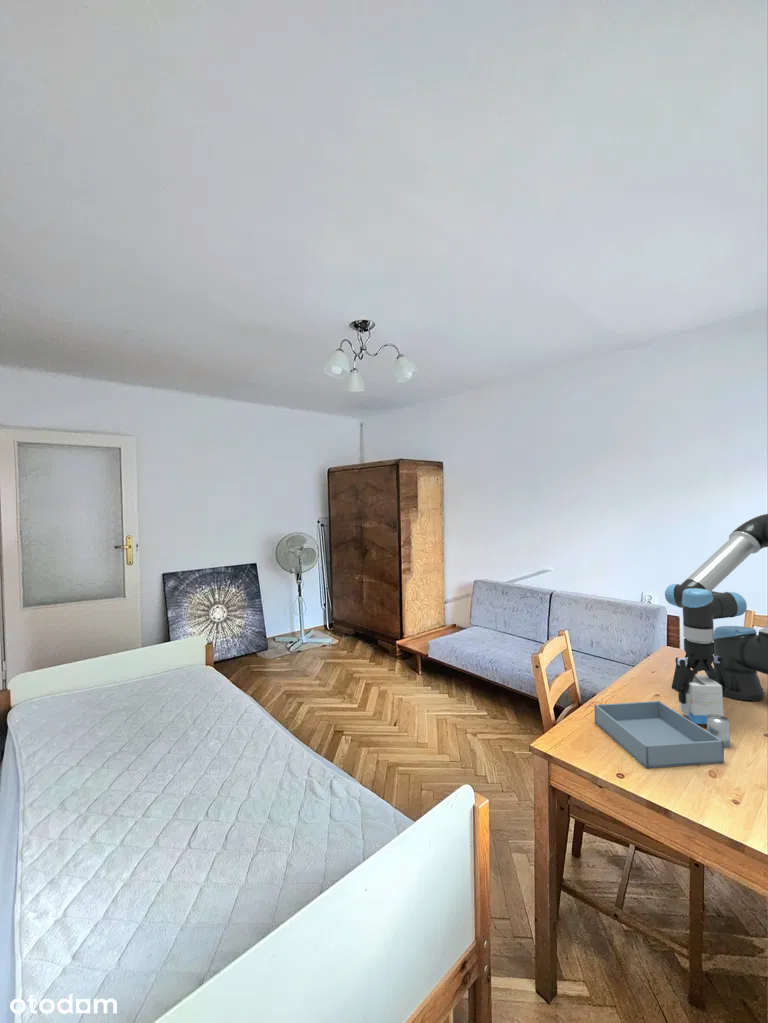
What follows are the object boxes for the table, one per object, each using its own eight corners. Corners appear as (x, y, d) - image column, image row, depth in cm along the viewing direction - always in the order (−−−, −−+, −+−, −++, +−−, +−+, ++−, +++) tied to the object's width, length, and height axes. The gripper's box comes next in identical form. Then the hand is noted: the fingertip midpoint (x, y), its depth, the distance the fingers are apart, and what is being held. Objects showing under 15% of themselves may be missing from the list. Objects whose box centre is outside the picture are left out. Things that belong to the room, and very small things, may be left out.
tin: (719, 737, 122) (718, 713, 122) (734, 747, 117) (734, 722, 117) (702, 738, 121) (702, 714, 121) (717, 748, 116) (717, 723, 116)
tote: (659, 718, 133) (659, 700, 133) (723, 762, 110) (723, 741, 110) (594, 722, 131) (594, 704, 131) (646, 768, 108) (645, 746, 108)
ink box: (725, 725, 125) (723, 680, 125) (693, 723, 127) (691, 679, 127) (708, 711, 134) (707, 669, 134) (679, 710, 135) (677, 668, 135)
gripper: (721, 633, 135) (724, 703, 135) (655, 638, 133) (658, 709, 133) (743, 641, 127) (746, 715, 127) (673, 646, 125) (676, 721, 126)
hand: (701, 712), depth 130 cm, fingers closed on ink box, 9 cm apart
